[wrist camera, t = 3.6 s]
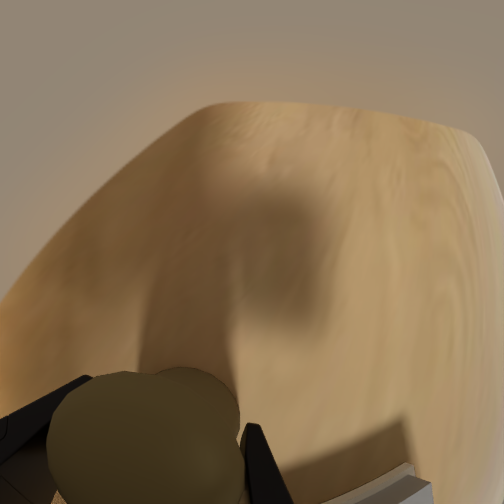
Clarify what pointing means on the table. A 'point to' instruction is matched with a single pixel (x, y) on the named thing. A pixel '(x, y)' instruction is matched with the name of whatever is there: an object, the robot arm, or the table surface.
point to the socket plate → (390, 489)
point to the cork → (147, 440)
